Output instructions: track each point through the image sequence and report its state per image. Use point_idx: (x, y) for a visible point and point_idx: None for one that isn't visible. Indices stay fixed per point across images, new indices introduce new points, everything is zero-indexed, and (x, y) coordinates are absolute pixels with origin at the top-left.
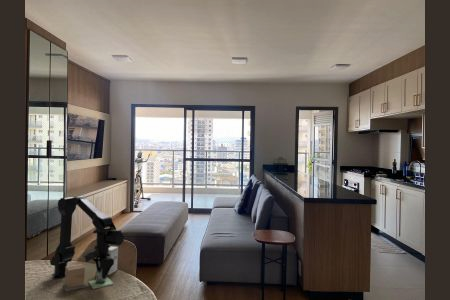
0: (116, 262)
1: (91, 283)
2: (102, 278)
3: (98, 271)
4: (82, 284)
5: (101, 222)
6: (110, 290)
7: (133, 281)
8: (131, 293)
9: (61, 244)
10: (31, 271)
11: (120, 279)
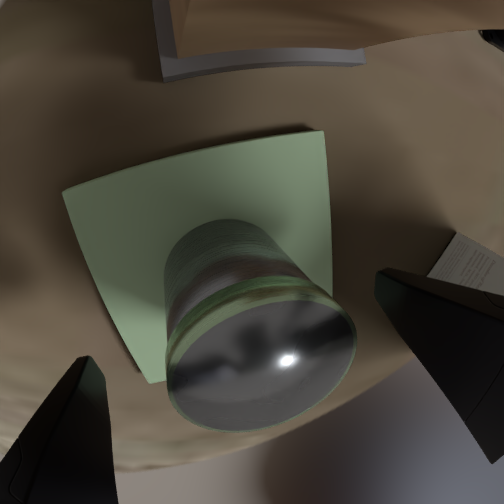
0: None
1: (225, 161)
2: (83, 358)
3: (302, 335)
4: (174, 37)
5: None
6: (21, 350)
7: (182, 455)
8: (3, 429)
9: None
10: None
11: None
